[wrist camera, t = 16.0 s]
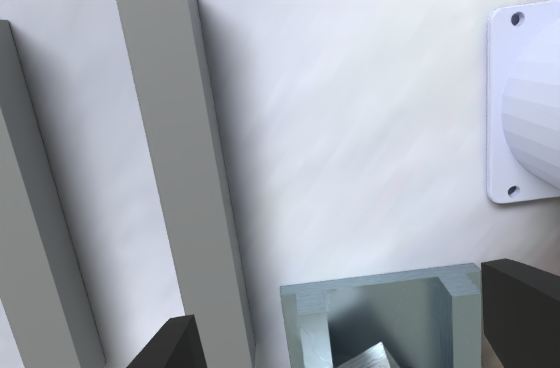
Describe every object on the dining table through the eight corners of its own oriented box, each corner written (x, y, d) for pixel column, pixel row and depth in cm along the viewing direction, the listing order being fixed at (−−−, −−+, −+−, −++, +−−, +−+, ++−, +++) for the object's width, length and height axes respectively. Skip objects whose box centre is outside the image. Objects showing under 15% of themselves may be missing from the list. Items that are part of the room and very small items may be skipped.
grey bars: (195, -6, 18) (185, -12, 16) (255, 344, 23) (253, 376, 21) (-53, 28, 18) (-96, 27, 16) (58, 368, 23) (36, 401, 21)
